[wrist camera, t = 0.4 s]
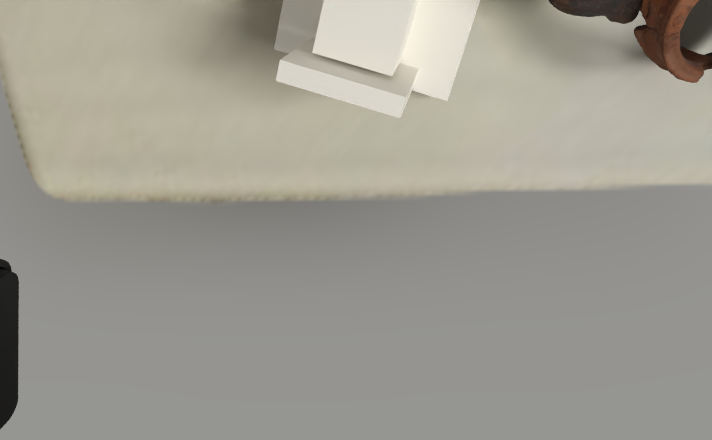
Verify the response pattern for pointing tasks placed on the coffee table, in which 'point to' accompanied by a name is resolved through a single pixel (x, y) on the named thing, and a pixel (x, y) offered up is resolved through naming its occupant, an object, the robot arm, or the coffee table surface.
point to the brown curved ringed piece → (650, 30)
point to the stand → (373, 48)
